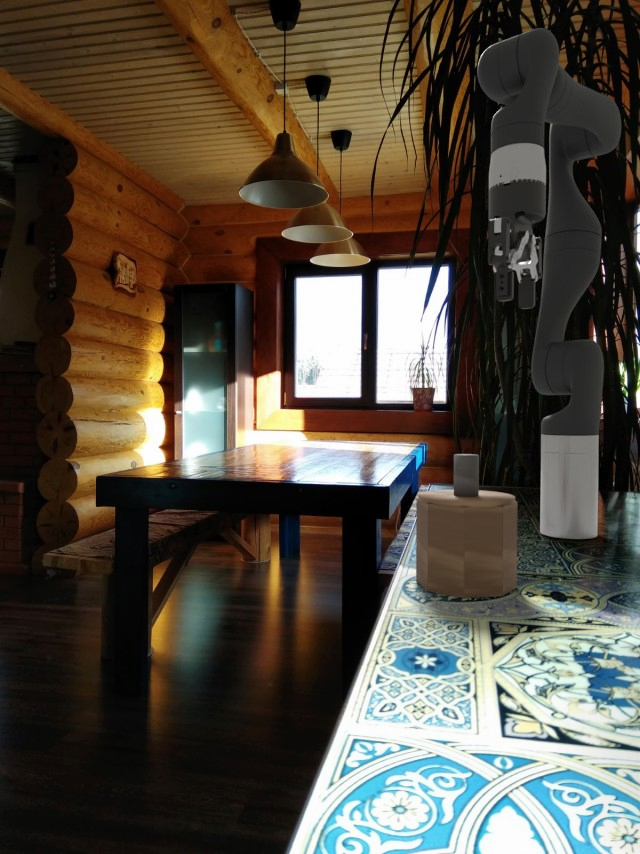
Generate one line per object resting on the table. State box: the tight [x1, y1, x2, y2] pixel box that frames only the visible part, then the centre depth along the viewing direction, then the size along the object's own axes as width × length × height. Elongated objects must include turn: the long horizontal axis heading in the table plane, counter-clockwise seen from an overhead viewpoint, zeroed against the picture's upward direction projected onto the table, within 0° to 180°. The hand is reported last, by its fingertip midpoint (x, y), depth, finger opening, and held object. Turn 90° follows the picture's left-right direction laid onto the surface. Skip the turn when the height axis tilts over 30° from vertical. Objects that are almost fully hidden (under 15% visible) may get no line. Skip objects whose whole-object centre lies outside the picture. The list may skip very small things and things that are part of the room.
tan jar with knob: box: [415, 453, 519, 599], centre depth 80 cm, size 12×12×16 cm
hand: (516, 304), depth 90 cm, fingers open, 8 cm apart
